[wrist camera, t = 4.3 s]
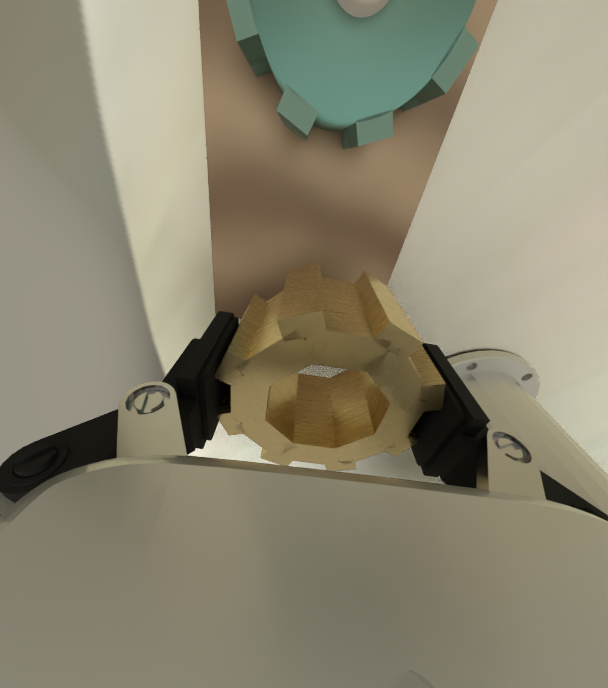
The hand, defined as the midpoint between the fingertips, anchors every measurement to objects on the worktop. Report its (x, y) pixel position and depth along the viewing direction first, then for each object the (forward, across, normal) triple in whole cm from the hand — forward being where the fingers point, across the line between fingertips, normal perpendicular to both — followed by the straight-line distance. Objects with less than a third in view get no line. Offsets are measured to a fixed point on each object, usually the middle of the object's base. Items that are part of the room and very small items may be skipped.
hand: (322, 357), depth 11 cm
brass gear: (+1, 0, 0) cm, 1 cm away
